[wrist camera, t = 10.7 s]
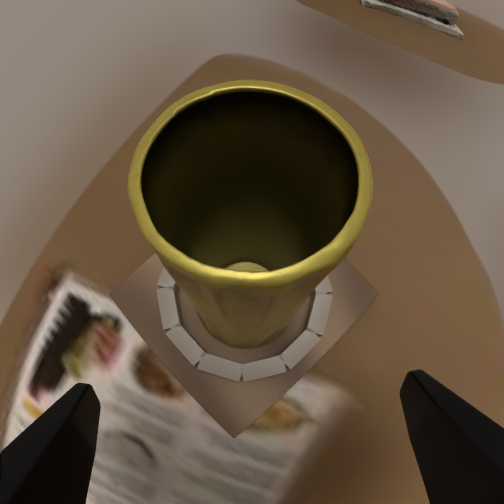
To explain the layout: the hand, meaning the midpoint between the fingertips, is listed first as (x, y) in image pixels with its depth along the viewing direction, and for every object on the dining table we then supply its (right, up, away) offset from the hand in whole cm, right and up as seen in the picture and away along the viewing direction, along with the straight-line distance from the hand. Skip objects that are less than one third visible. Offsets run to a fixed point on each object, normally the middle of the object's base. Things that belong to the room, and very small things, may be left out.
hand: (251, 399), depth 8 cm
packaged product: (+26, +44, +29) cm, 59 cm away
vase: (0, +1, +12) cm, 12 cm away
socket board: (-1, +1, +13) cm, 13 cm away
